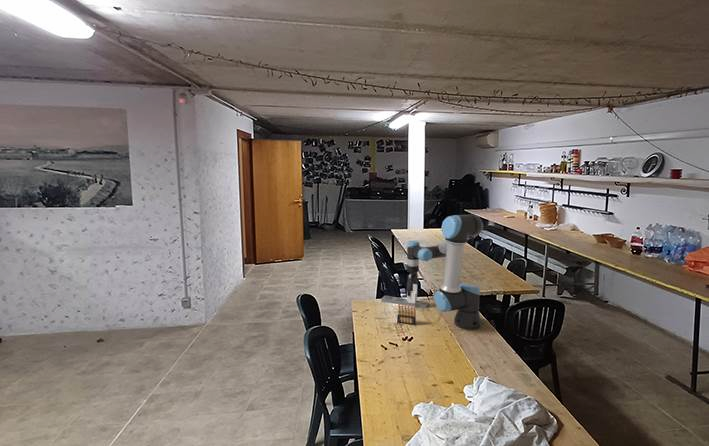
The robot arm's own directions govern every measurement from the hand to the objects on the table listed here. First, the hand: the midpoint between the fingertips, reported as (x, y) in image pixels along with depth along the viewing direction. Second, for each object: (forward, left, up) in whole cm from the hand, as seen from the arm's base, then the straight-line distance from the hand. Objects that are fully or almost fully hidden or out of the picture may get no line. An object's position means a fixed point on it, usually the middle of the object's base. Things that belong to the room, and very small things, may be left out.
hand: (412, 297), depth 253 cm
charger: (0, 0, -5) cm, 5 cm away
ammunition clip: (-5, +28, -6) cm, 29 cm away
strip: (-1, 0, -6) cm, 6 cm away
